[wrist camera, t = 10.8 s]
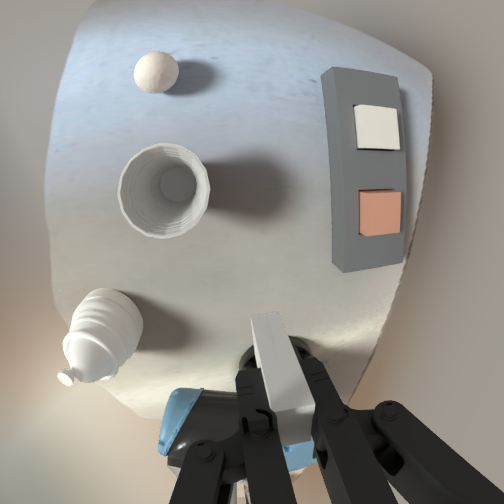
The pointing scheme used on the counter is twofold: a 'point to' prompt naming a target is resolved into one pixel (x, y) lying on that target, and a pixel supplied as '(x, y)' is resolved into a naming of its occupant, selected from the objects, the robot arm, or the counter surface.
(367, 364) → the counter surface
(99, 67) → the counter surface
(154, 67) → the egg
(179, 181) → the plastic cup
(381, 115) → the offwhite key
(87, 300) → the honey pot
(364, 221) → the terracotta key
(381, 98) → the key console
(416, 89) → the counter surface
